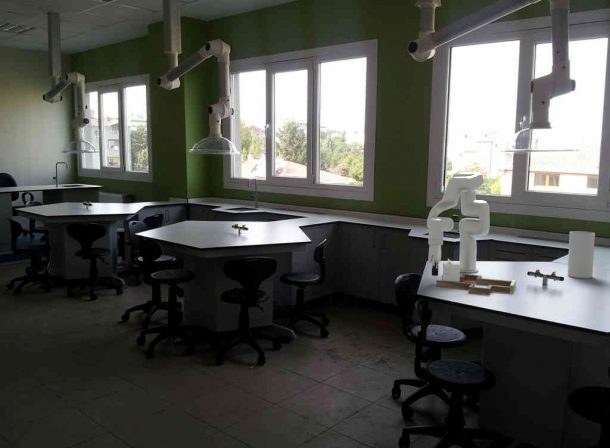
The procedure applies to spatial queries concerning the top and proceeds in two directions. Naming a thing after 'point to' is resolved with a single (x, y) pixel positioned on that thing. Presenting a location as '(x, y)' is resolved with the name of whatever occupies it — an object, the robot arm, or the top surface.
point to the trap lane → (493, 284)
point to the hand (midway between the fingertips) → (434, 275)
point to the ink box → (451, 271)
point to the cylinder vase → (581, 254)
